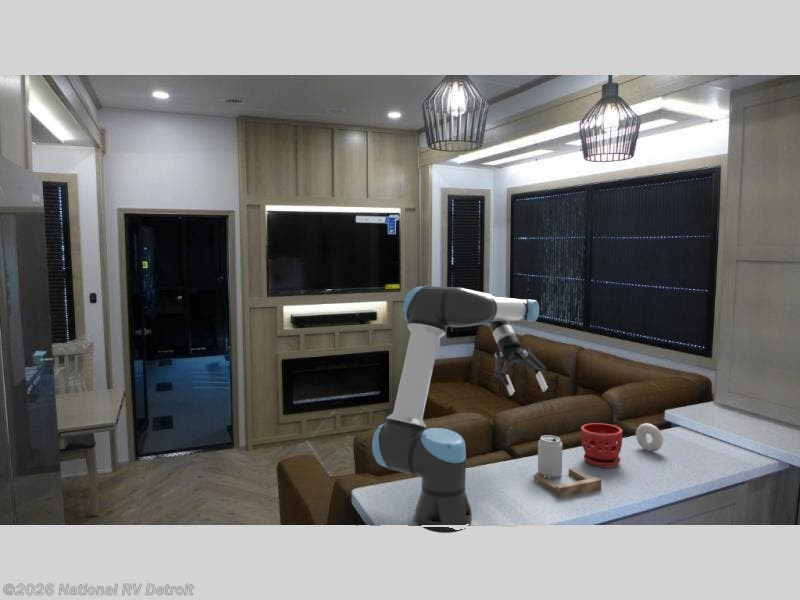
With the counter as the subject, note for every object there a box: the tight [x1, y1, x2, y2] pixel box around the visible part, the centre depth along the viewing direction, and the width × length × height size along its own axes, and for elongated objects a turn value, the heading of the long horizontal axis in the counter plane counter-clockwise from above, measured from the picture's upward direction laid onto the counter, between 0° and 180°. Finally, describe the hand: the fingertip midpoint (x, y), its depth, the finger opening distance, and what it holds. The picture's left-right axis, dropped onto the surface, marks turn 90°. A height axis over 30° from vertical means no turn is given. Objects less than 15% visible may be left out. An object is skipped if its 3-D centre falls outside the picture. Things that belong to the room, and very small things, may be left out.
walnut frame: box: [533, 467, 602, 499], centre depth 162 cm, size 15×12×3 cm
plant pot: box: [580, 422, 623, 468], centre depth 179 cm, size 13×13×12 cm
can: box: [537, 434, 563, 479], centre depth 169 cm, size 8×8×12 cm
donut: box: [635, 422, 664, 453], centre depth 188 cm, size 10×3×10 cm, turn 30°
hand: (529, 391), depth 180 cm, fingers open, 12 cm apart
